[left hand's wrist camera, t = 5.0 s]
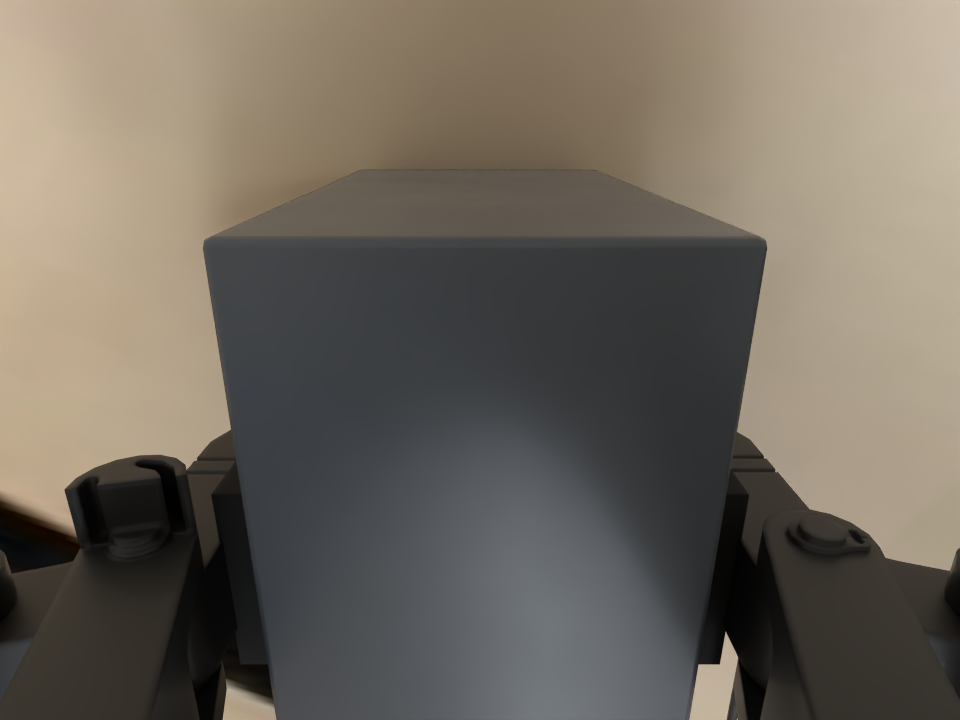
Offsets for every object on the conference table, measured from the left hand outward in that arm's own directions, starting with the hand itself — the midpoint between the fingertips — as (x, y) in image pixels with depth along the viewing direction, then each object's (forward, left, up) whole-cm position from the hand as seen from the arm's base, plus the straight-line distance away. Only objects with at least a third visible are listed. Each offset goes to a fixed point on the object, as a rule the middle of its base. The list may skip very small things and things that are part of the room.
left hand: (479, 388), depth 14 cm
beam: (+11, +33, -1) cm, 35 cm away
